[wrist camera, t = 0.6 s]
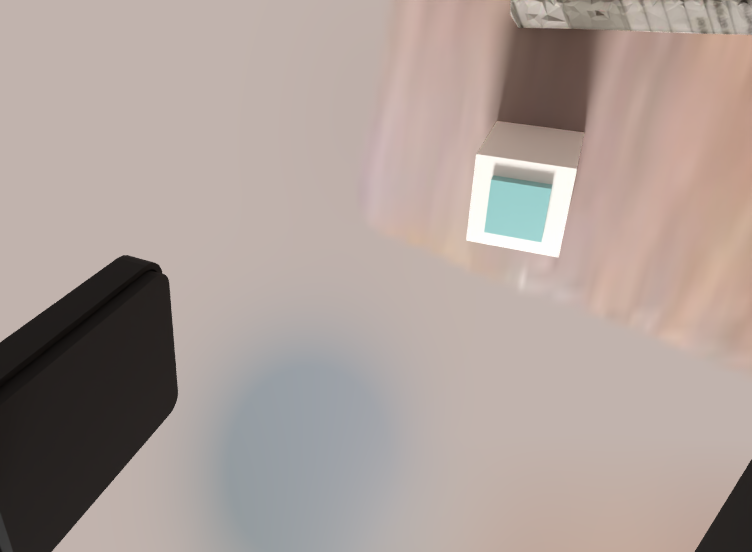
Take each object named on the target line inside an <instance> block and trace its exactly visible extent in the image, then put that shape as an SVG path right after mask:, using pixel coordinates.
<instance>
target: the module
mask: <svg viewBox="0 0 752 552" xmlns="http://www.w3.org/2000/svg"><path fill="white" fill-rule="evenodd" d="M584 133H585V132H578V131H570V130H563V129H555V128H548V127H540V126H532V125H525V124H517V123H509V122H502V121H496V123H495V125H494V126H493V128H492V130H491V131H490V133H489V134H488V136H487V138H486V139H485V141H484V142H483V144H482V146H481V147H480V149H479V151H478V152H477V154H476V161H475V170H474V178H473V186H472V195H471V203H470V212H469V220H468V229H467V237H466V240H467V241H472V242H478V243H483V244H488V245H494V246H499V247H505V248H510V249H515V250H521V251H526V252H532V253H537V254H542V255H548V256H553V257H559V253H560V248H561V243H562V239H563V234H564V229H565V224H566V220H567V215H568V210H569V205H570V200H571V196H572V191H573V186H574V181H575V177H576V172H577V167H578V162H579V157H580V153H581V148H582V143H583V138H584Z"/></svg>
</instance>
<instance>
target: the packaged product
mask: <svg viewBox="0 0 752 552" xmlns="http://www.w3.org/2000/svg"><path fill="white" fill-rule="evenodd" d="M510 15H511V17H512V18H513V20H514V22H515V23H516V25H517V26H518V28H558V29H592V30H620V31H645V32H667V33H699V34H738V35H752V0H511V4H510Z"/></svg>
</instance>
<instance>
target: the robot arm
mask: <svg viewBox="0 0 752 552" xmlns="http://www.w3.org/2000/svg"><path fill="white" fill-rule="evenodd" d="M177 396H178V387H177V375H176V362H175V352H174V338H173V325H172V313H171V301H170V288H169V280H168V278H167V276H166V275H164V274H162V270H161V268H160V266H159V265H158V264H156V263H153V262H150V261H146V260H142V259H139V258H135V257H131V256H128V255H126V256H125V255H123V256H121V257H119V258H117V259H116V260H114V261H113V262H112V263H110V264H109V265H107V266H106V267H105V268H103V269H102V270H100V271H99V272H98V273H96V274H95V275H94V276H92V277H91V278H90V279H88V280H87V281H85V282H84V283H82V284H81V285H80V286H78V287H77V288H75V289H74V290H73V291H71V292H70V293H68V294H67V295H66V296H64V297H63V298H62V299H60V300H59V301H57V302H56V303H54V304H53V305H52V306H50V307H49V308H48V309H46V310H45V311H43V312H42V313H41V314H39V315H38V316H36V317H35V318H34V319H32V320H31V321H29V322H28V323H27V324H25V325H24V326H23V327H21V328H20V329H18V330H17V331H16V332H14V333H13V334H11V335H10V336H9V337H7V338H6V339H4V340H3V341H2V342H0V552H52V551H53V549H54V548H55V547H56V546H57V545H58V544H59V542H60V541H61V540H62V539H63V538H64V537H65V535H66V534H67V533H68V532H69V531H70V530H71V528H72V527H73V526H74V525H75V524H76V523H77V521H78V520H79V519H80V518H81V517H82V516H83V515H84V513H85V512H86V511H87V510H88V509H89V508H90V506H91V505H92V504H93V503H94V502H95V500H96V499H97V498H98V497H99V496H100V495H101V493H102V492H103V491H104V490H105V489H106V488H107V487H108V485H109V484H110V483H111V482H112V481H113V480H114V478H115V477H116V476H117V475H118V474H119V473H120V471H121V470H122V469H123V468H124V467H125V466H126V464H127V463H128V462H129V461H130V460H131V459H132V457H133V456H134V455H135V454H136V453H137V452H138V450H139V449H140V448H141V447H142V446H143V445H144V443H145V442H146V441H147V440H148V439H149V438H150V437H151V435H152V434H153V433H154V432H155V431H156V429H157V428H158V427H159V426H160V425H161V424H162V423H163V421H164V420H165V419H166V418H167V416H168V415H169V414H170V413H171V412H172V410H173V408H174V406H175V404H176V401H177ZM695 552H752V460H751V461H750V463H749V465H748V466H747V468H746V470H745V471H744V473H743V474H742V476H741V477H740V479H739V481H738V482H737V484H736V486H735V487H734V489H733V491H732V492H731V494H730V495H729V497H728V499H727V500H726V502H725V503H724V505H723V507H722V508H721V510H720V512H719V513H718V515H717V516H716V518H715V520H714V521H713V523H712V524H711V526H710V528H709V529H708V531H707V533H706V534H705V536H704V537H703V539H702V541H701V542H700V544H699V546H698V547H697V549H696V550H695Z"/></svg>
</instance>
